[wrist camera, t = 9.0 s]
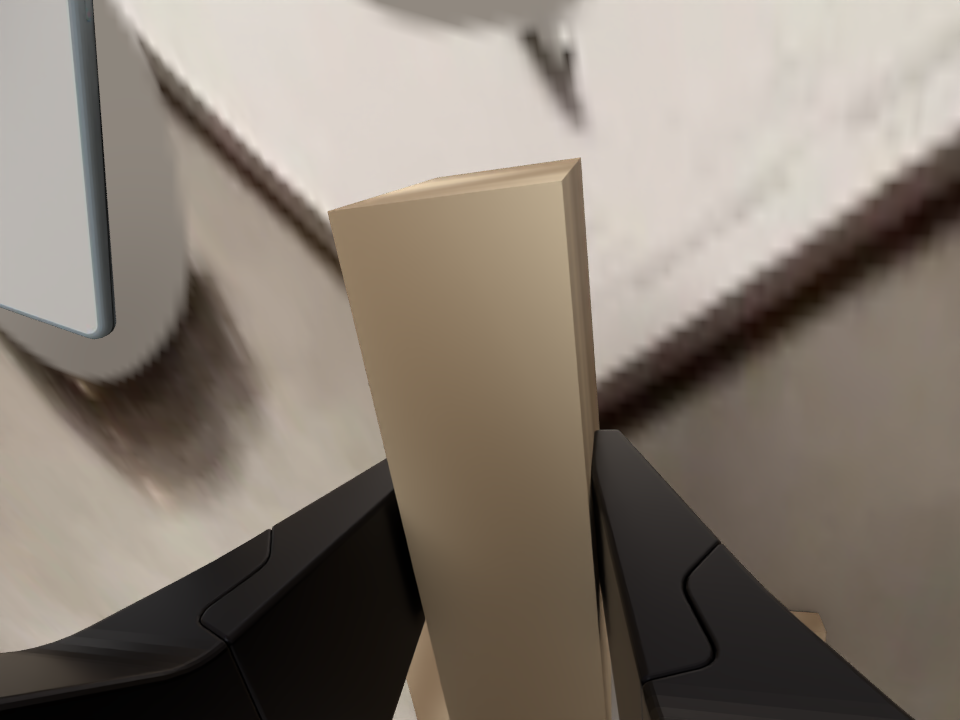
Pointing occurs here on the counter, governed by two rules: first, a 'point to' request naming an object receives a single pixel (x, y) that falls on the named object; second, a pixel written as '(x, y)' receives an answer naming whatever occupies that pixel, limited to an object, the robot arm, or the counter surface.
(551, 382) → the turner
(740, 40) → the counter surface
